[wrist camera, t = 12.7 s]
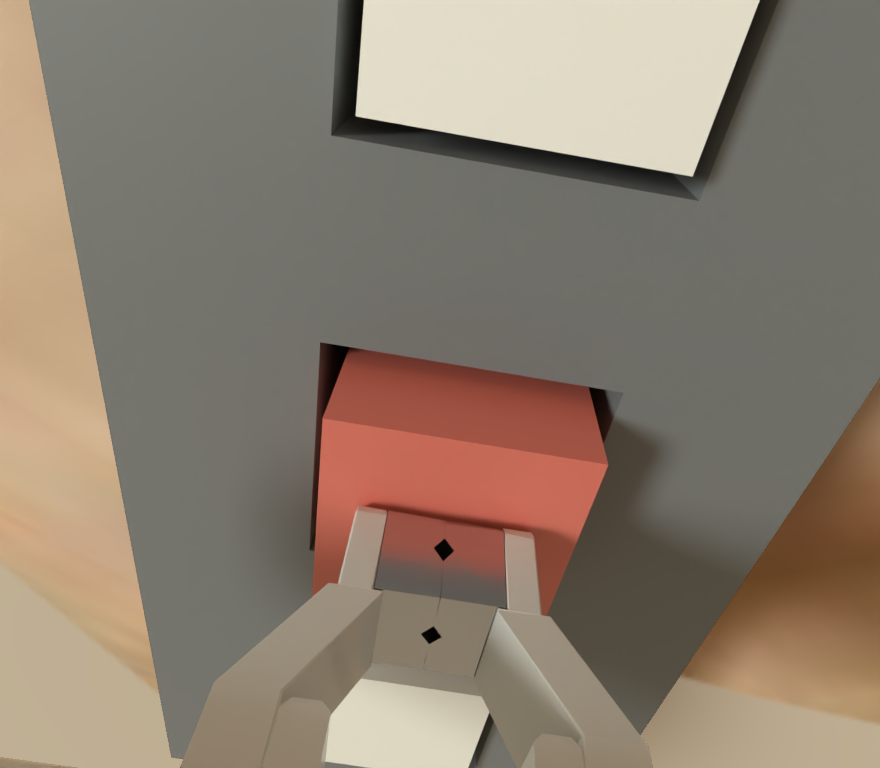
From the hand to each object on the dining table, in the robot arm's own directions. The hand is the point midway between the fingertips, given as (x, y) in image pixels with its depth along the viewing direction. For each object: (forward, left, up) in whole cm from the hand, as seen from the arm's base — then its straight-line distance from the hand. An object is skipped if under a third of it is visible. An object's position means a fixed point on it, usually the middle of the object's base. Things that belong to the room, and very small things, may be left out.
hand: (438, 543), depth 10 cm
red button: (0, 0, -5) cm, 5 cm away
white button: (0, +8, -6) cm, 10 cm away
